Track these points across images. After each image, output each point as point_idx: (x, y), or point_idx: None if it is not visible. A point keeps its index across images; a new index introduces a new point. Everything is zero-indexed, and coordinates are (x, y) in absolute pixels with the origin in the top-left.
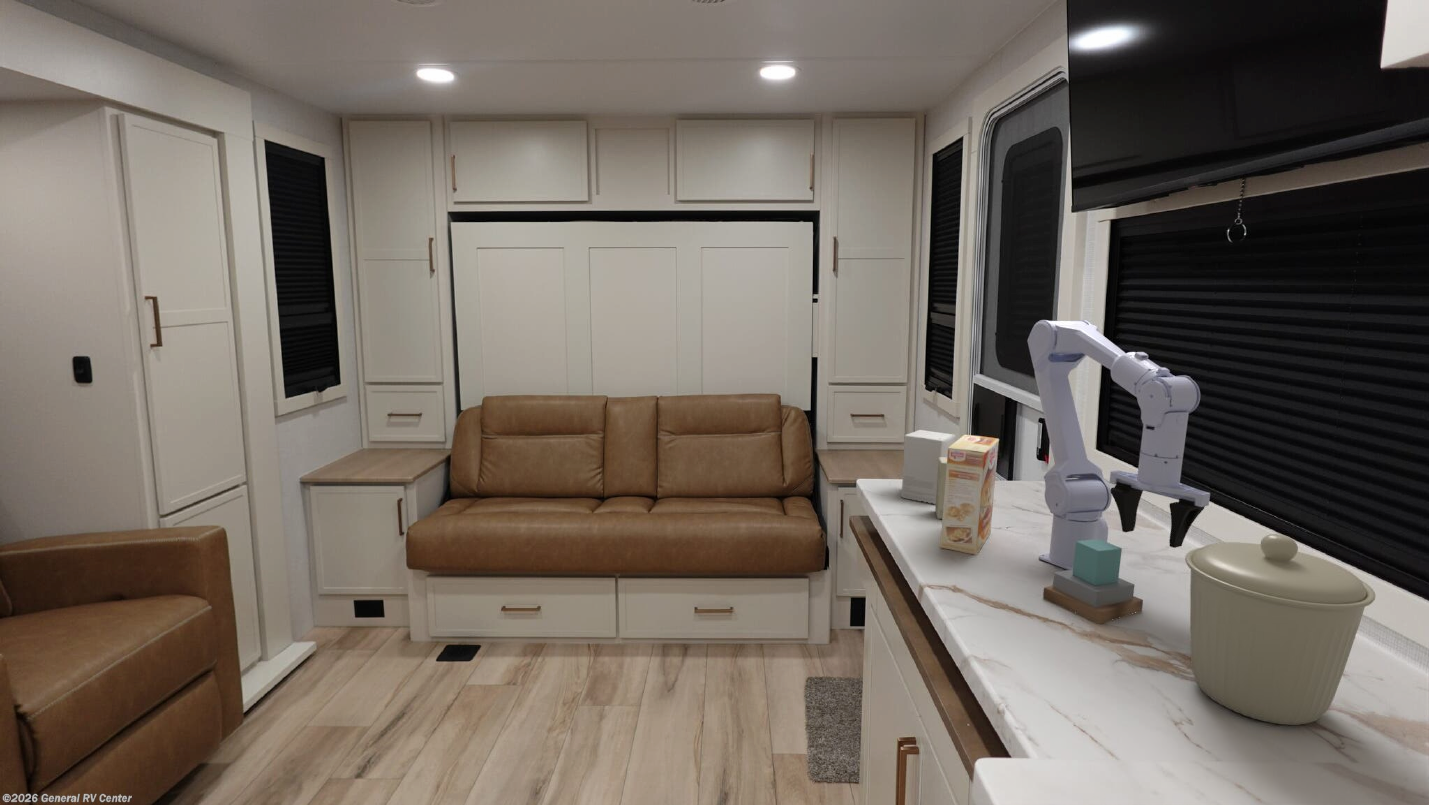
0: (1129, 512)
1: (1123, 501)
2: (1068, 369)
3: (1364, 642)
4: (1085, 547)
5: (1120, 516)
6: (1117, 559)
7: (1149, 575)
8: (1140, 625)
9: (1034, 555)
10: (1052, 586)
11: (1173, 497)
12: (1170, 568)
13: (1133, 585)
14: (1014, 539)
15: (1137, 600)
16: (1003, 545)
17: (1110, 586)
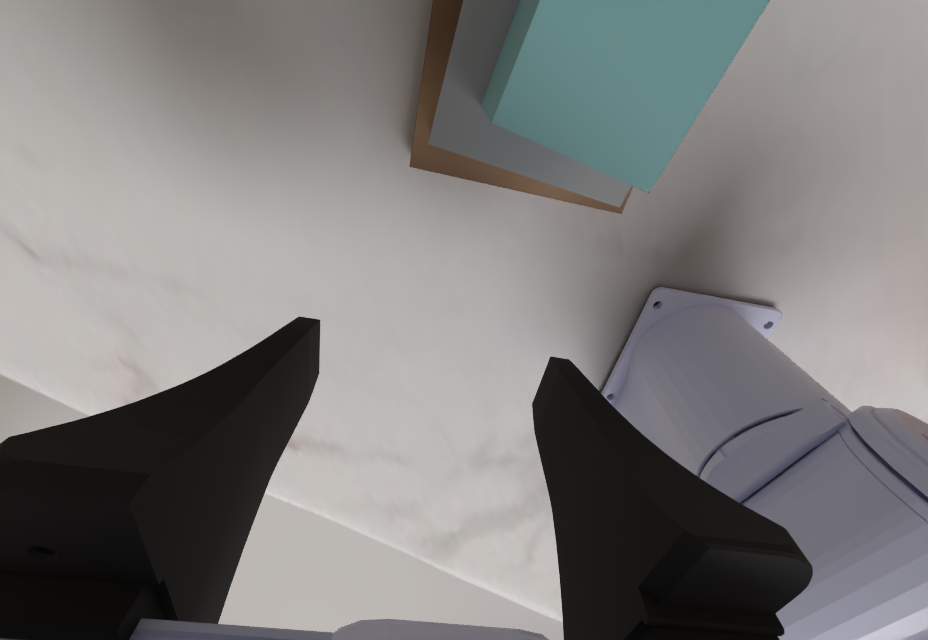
0: (575, 454)
1: (639, 478)
2: None
3: (61, 396)
4: None
5: (609, 405)
6: (496, 92)
7: (501, 414)
8: (359, 18)
9: (788, 328)
10: None
11: (222, 638)
12: (483, 476)
13: (429, 138)
14: (855, 392)
15: (419, 145)
16: (888, 331)
17: (484, 16)
